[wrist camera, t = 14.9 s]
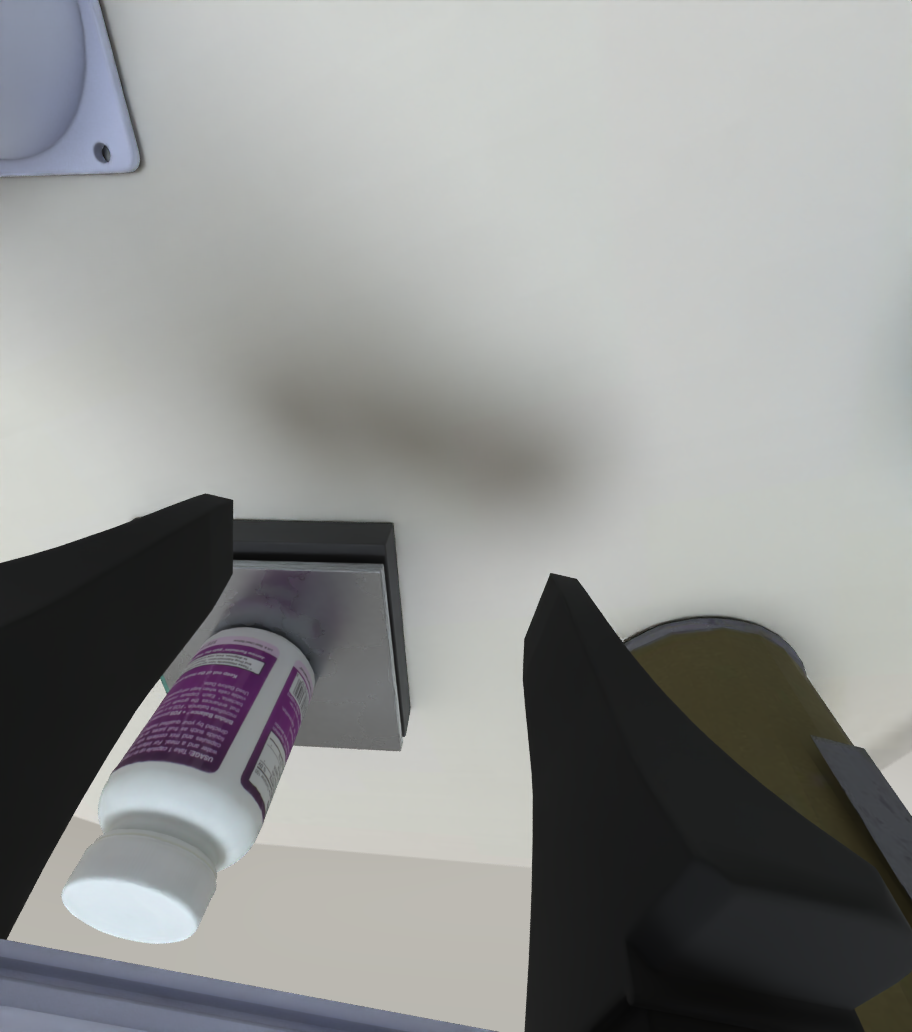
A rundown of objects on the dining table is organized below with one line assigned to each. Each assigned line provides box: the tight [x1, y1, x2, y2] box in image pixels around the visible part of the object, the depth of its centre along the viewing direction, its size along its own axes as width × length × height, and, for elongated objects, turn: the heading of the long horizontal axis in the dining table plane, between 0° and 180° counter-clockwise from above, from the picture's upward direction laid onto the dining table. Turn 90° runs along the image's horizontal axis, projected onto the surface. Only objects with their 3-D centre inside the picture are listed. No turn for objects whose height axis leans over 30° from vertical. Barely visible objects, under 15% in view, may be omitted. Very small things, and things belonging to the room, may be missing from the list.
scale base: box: [132, 518, 410, 737], centre depth 25 cm, size 12×12×2 cm
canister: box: [624, 618, 912, 1032], centre depth 17 cm, size 11×10×20 cm
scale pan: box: [163, 560, 403, 751], centre depth 23 cm, size 11×11×1 cm
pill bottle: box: [61, 627, 315, 944], centre depth 19 cm, size 5×5×10 cm
